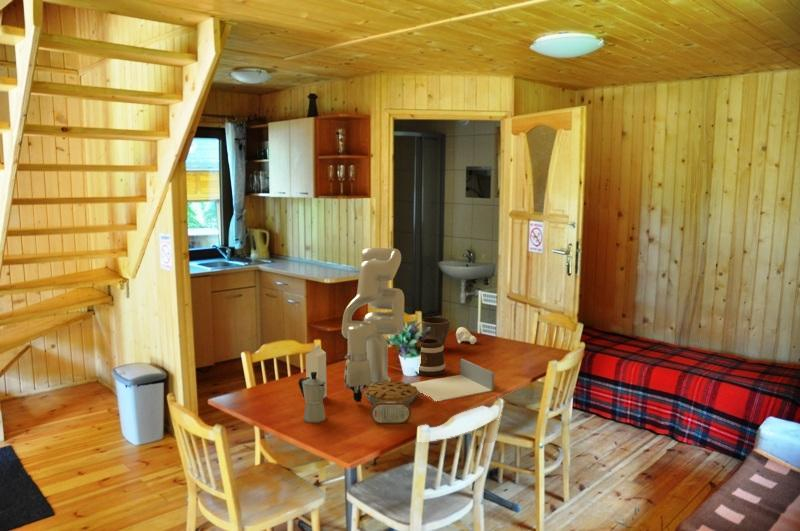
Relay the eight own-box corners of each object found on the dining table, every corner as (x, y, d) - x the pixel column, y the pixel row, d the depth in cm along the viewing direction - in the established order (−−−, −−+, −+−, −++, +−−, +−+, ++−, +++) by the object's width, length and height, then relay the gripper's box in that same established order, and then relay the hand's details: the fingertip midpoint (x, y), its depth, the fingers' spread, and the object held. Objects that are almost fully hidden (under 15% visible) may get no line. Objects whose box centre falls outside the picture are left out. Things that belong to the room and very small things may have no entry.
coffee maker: (334, 419, 230) (334, 373, 228) (316, 426, 224) (315, 378, 221) (308, 410, 240) (308, 365, 238) (291, 416, 233) (289, 370, 231)
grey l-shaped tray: (435, 403, 249) (435, 382, 248) (407, 386, 270) (407, 367, 269) (493, 392, 263) (493, 372, 261) (462, 376, 284) (462, 358, 282)
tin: (411, 421, 229) (411, 399, 228) (411, 424, 226) (411, 402, 225) (370, 421, 229) (370, 399, 227) (370, 424, 225) (370, 402, 224)
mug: (452, 373, 287) (452, 341, 285) (427, 379, 278) (428, 347, 276) (424, 363, 303) (425, 333, 301) (400, 368, 294) (400, 338, 292)
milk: (306, 399, 252) (305, 347, 249) (314, 394, 258) (313, 343, 255) (318, 401, 249) (317, 348, 247) (327, 396, 255) (325, 345, 252)
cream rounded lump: (460, 325, 346) (479, 330, 340) (459, 339, 348) (478, 344, 341) (455, 327, 341) (474, 332, 335) (453, 342, 343) (472, 347, 336)
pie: (401, 412, 238) (401, 400, 237) (354, 402, 249) (354, 390, 248) (427, 395, 257) (427, 384, 256) (382, 387, 268) (382, 376, 267)
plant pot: (450, 353, 322) (451, 323, 320) (422, 353, 321) (422, 323, 319) (448, 345, 336) (448, 317, 334) (421, 345, 336) (421, 317, 334)
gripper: (343, 361, 237) (344, 407, 239) (378, 356, 243) (378, 401, 246) (336, 356, 243) (336, 401, 246) (370, 351, 250) (370, 395, 252)
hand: (357, 401), depth 246 cm, fingers closed
